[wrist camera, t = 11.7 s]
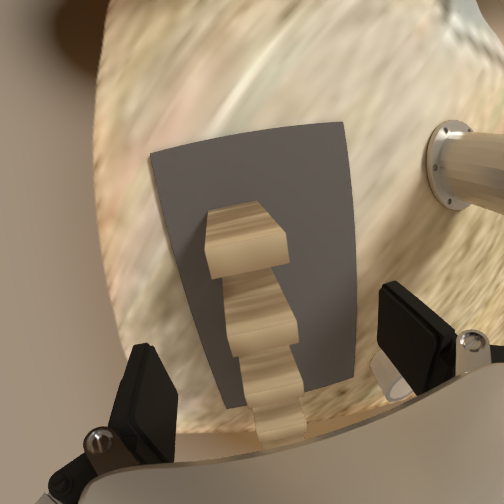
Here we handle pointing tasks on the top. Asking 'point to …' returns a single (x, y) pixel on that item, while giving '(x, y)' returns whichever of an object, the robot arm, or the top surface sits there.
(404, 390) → the shot glass
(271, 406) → the domino
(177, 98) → the top surface
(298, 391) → the domino
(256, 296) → the domino
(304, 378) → the mat
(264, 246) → the end domino
